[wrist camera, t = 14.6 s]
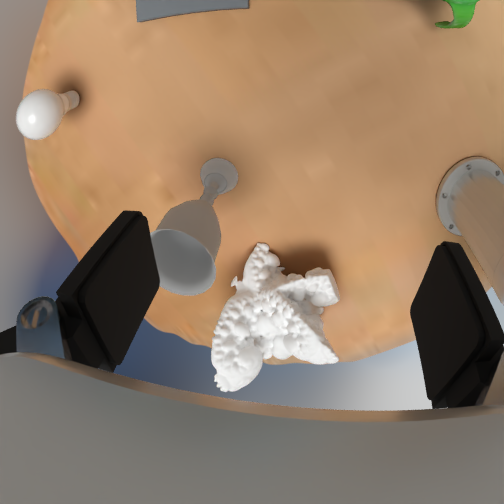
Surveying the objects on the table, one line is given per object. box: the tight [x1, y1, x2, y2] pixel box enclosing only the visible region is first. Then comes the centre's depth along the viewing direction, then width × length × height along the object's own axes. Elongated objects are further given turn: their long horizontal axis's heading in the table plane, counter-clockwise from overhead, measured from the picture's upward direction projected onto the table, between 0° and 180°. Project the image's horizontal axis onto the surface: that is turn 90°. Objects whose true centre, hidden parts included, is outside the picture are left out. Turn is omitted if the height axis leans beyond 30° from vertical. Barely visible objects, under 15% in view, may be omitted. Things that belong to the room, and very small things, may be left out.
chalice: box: [150, 158, 238, 295], centre depth 33 cm, size 7×7×18 cm
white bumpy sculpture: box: [211, 243, 340, 392], centre depth 48 cm, size 19×20×20 cm
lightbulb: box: [16, 89, 79, 140], centre depth 30 cm, size 6×6×11 cm
